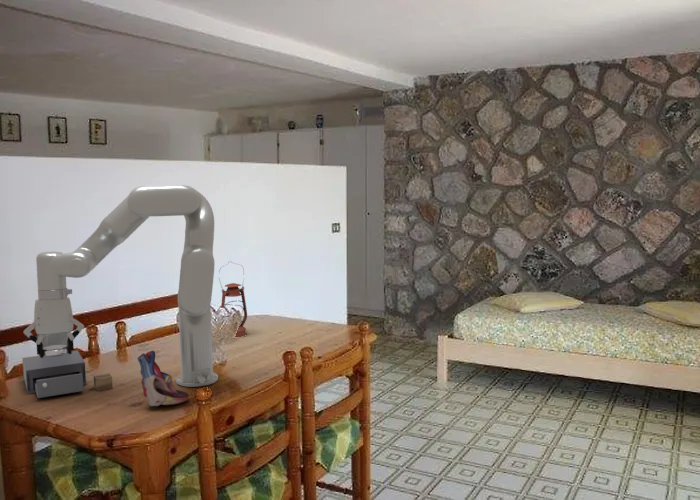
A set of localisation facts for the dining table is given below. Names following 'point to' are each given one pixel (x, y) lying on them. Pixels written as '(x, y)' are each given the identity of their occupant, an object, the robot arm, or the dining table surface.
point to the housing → (51, 367)
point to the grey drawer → (58, 384)
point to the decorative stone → (54, 339)
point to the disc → (55, 350)
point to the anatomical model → (158, 383)
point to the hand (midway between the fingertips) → (55, 354)
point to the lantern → (233, 292)
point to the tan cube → (103, 382)
